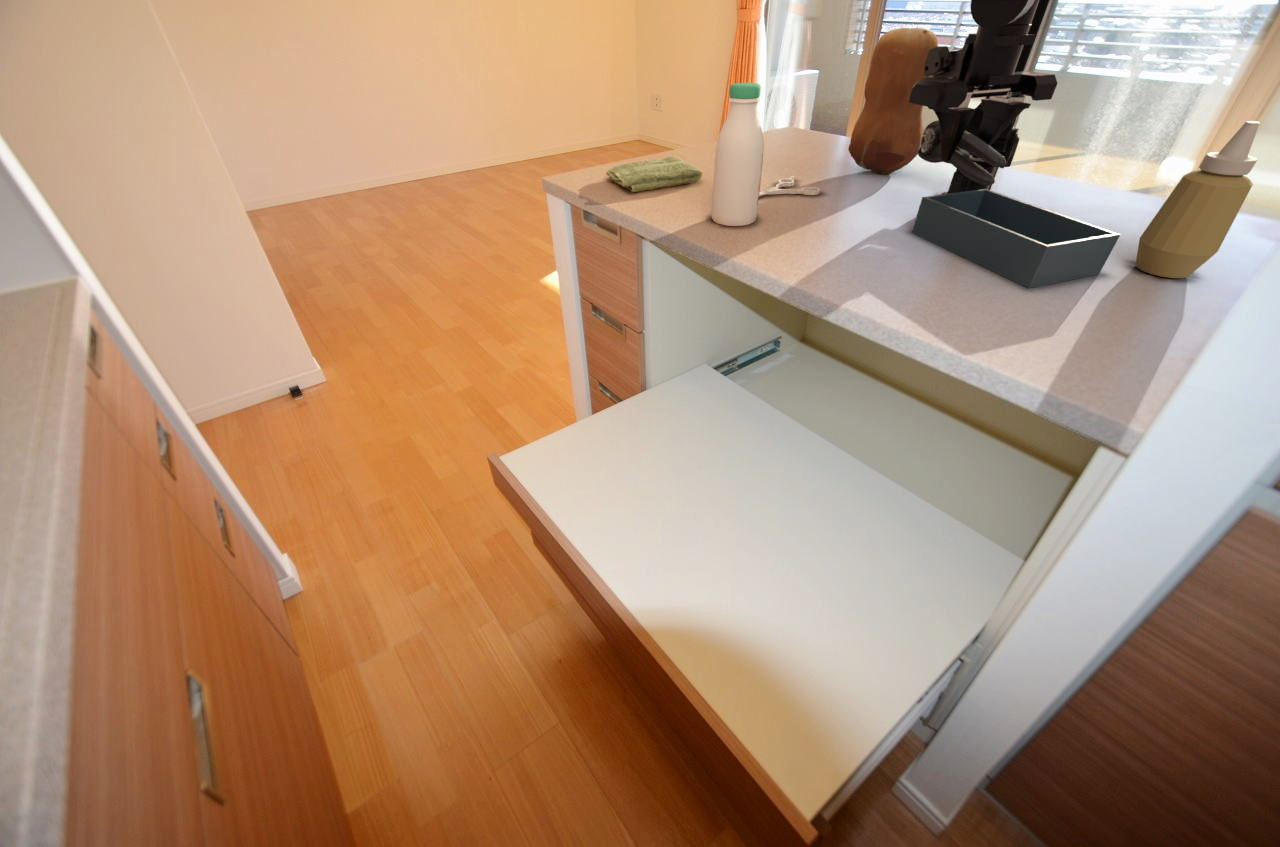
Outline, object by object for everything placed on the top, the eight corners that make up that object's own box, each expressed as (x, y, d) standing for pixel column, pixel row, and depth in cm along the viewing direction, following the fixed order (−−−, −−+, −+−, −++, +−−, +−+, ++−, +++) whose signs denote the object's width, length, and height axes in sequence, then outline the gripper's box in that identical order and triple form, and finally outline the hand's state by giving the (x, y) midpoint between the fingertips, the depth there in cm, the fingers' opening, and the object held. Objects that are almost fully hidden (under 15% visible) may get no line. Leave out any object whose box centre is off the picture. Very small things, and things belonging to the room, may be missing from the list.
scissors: (829, 188, 103) (745, 204, 96) (828, 192, 104) (744, 208, 97) (792, 176, 111) (711, 190, 104) (791, 180, 111) (711, 194, 104)
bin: (972, 223, 89) (985, 188, 86) (1098, 274, 73) (1120, 234, 69) (911, 232, 86) (922, 197, 83) (1028, 288, 70) (1047, 246, 66)
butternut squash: (892, 162, 121) (927, 24, 105) (924, 178, 111) (969, 27, 95) (833, 165, 120) (860, 26, 104) (860, 182, 109) (895, 30, 94)
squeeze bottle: (1110, 261, 76) (1189, 117, 65) (1164, 258, 77) (1251, 114, 65) (1158, 285, 70) (1254, 130, 59) (1216, 281, 70) (1322, 127, 59)
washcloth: (603, 178, 115) (602, 162, 113) (678, 169, 120) (678, 153, 118) (625, 195, 105) (624, 177, 103) (705, 184, 110) (706, 167, 108)
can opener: (903, 157, 85) (915, 116, 81) (946, 156, 85) (959, 116, 82) (964, 188, 71) (981, 141, 67) (1015, 187, 71) (1034, 140, 68)
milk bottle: (755, 228, 89) (771, 87, 77) (708, 226, 91) (717, 87, 78) (756, 213, 95) (772, 80, 83) (713, 211, 96) (721, 80, 84)
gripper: (1013, 19, 75) (972, 142, 85) (899, 24, 71) (870, 153, 81) (1085, 22, 67) (1030, 158, 77) (960, 28, 63) (919, 171, 73)
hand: (960, 159), depth 77 cm, fingers closed on can opener, 5 cm apart
